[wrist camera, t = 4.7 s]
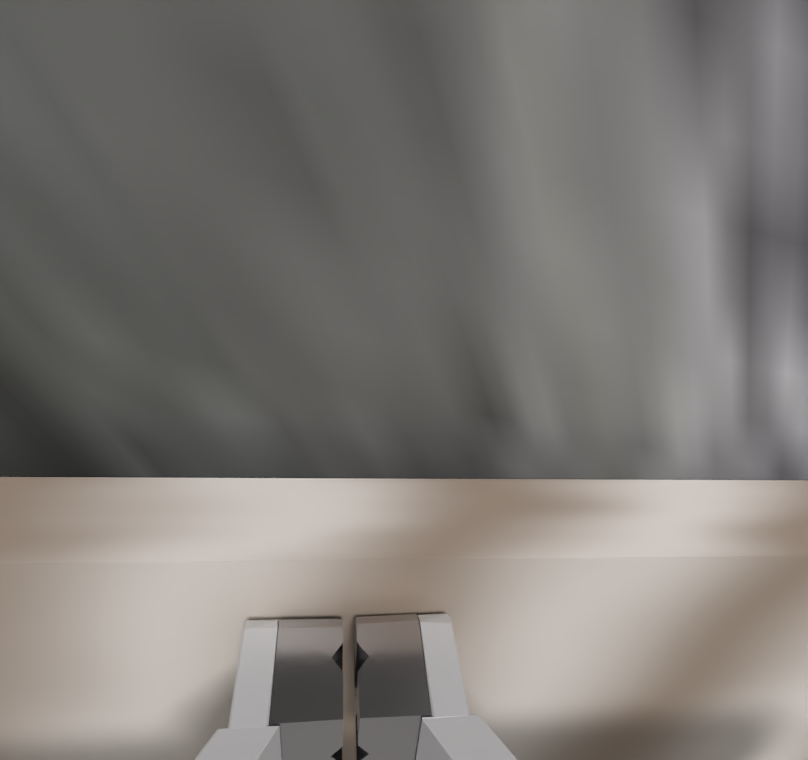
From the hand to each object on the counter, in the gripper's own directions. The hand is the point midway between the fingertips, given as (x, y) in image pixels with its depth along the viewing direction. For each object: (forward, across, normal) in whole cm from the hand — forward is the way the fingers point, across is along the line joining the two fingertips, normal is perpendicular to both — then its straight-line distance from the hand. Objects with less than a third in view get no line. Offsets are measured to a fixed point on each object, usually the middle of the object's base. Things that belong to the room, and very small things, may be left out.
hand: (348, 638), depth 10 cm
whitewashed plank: (+2, -1, +3) cm, 4 cm away
